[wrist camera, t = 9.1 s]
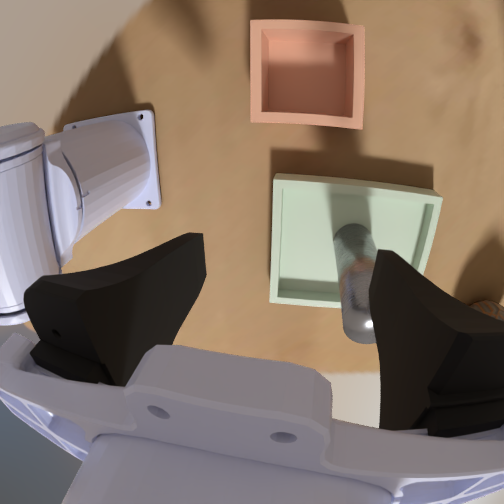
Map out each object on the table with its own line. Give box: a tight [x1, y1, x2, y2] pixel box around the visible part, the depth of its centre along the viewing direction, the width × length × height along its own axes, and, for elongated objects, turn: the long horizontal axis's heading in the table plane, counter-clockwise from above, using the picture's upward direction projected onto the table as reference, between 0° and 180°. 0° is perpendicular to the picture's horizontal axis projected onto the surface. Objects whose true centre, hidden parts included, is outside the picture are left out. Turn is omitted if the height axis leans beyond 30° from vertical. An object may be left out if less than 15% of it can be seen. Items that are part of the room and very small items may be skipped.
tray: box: [270, 173, 443, 308], centre depth 21 cm, size 12×10×2 cm
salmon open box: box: [250, 20, 365, 130], centre depth 15 cm, size 6×6×4 cm
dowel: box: [333, 223, 377, 344], centre depth 18 cm, size 3×3×9 cm
